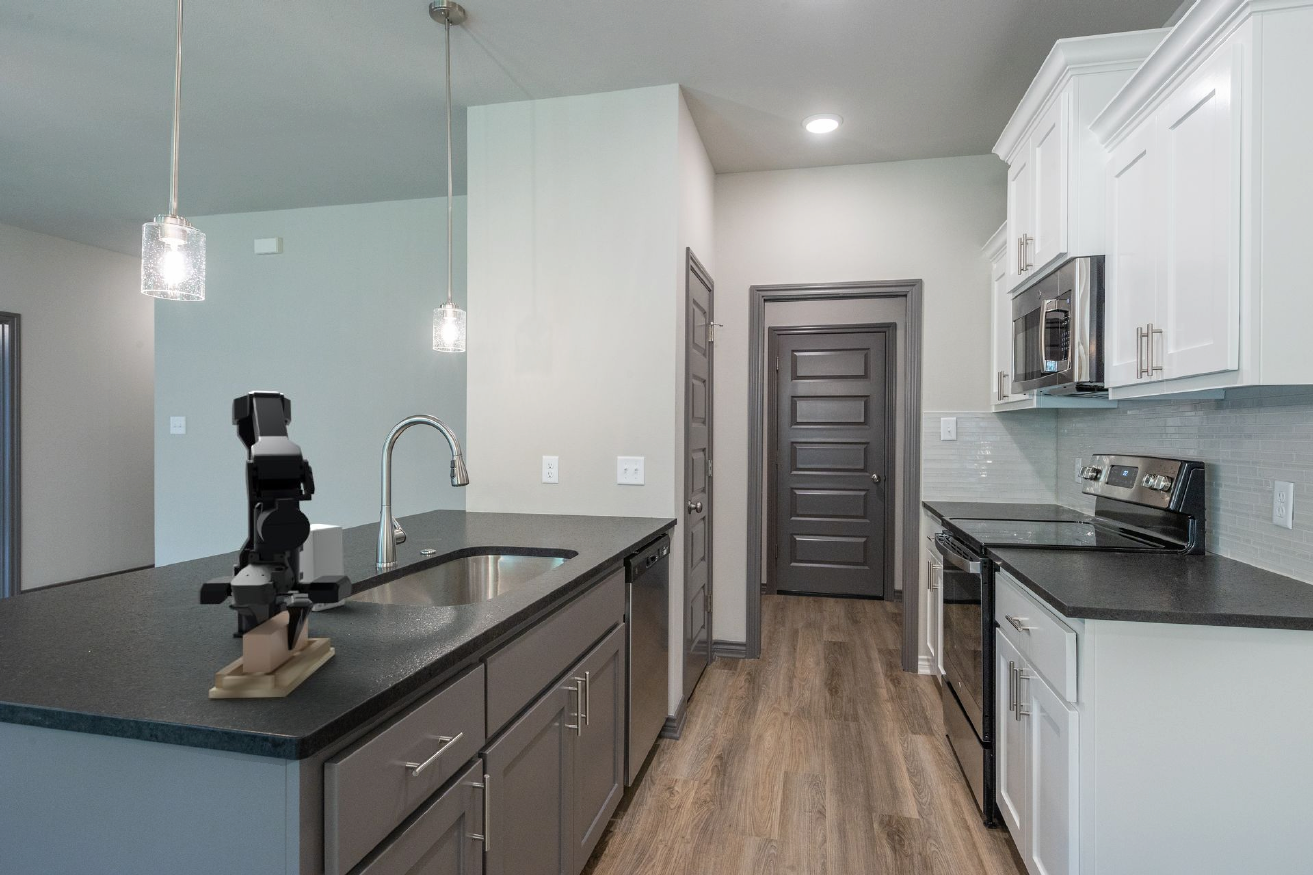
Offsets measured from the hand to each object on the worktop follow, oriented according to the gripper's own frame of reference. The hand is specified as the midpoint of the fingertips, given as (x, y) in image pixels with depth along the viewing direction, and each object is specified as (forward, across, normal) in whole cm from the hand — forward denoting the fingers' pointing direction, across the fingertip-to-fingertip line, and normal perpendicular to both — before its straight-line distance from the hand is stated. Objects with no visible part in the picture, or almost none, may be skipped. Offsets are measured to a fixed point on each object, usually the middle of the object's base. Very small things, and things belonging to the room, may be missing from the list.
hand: (277, 649), depth 100 cm
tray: (+4, 0, 0) cm, 4 cm away
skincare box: (+4, -9, +38) cm, 39 cm away
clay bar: (+1, 0, 0) cm, 1 cm away
